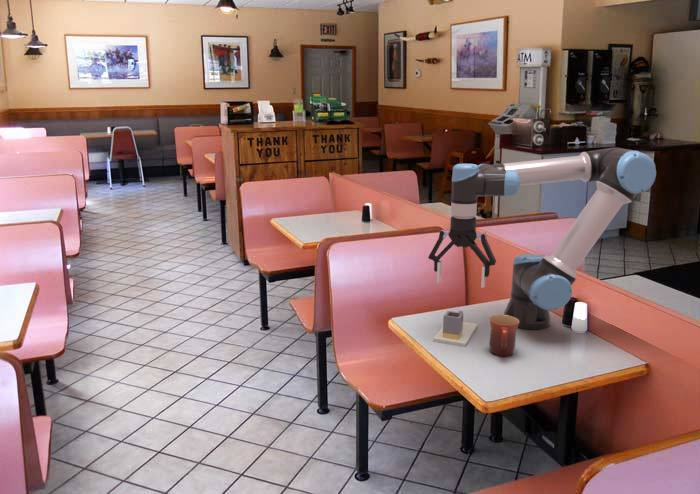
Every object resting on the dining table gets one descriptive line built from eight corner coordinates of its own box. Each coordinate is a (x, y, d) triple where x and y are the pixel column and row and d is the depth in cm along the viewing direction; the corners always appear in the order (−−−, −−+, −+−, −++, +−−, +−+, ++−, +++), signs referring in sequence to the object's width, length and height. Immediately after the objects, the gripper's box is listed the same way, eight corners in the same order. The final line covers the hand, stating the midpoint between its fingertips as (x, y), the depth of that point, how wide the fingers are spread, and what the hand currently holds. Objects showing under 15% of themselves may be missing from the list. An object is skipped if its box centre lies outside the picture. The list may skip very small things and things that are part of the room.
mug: (486, 345, 193) (488, 313, 191) (515, 348, 192) (518, 316, 189) (486, 361, 182) (489, 327, 179) (518, 364, 180) (521, 330, 178)
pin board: (477, 326, 208) (478, 309, 206) (465, 346, 192) (466, 328, 190) (447, 322, 212) (448, 305, 210) (433, 341, 195) (434, 322, 194)
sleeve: (462, 334, 199) (463, 313, 197) (458, 339, 194) (459, 318, 193) (446, 331, 201) (447, 310, 199) (442, 337, 196) (443, 315, 194)
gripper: (507, 216, 188) (504, 284, 194) (426, 211, 197) (424, 276, 202) (504, 221, 181) (500, 292, 187) (419, 215, 190) (418, 283, 196)
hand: (460, 284), depth 195 cm, fingers open, 13 cm apart
